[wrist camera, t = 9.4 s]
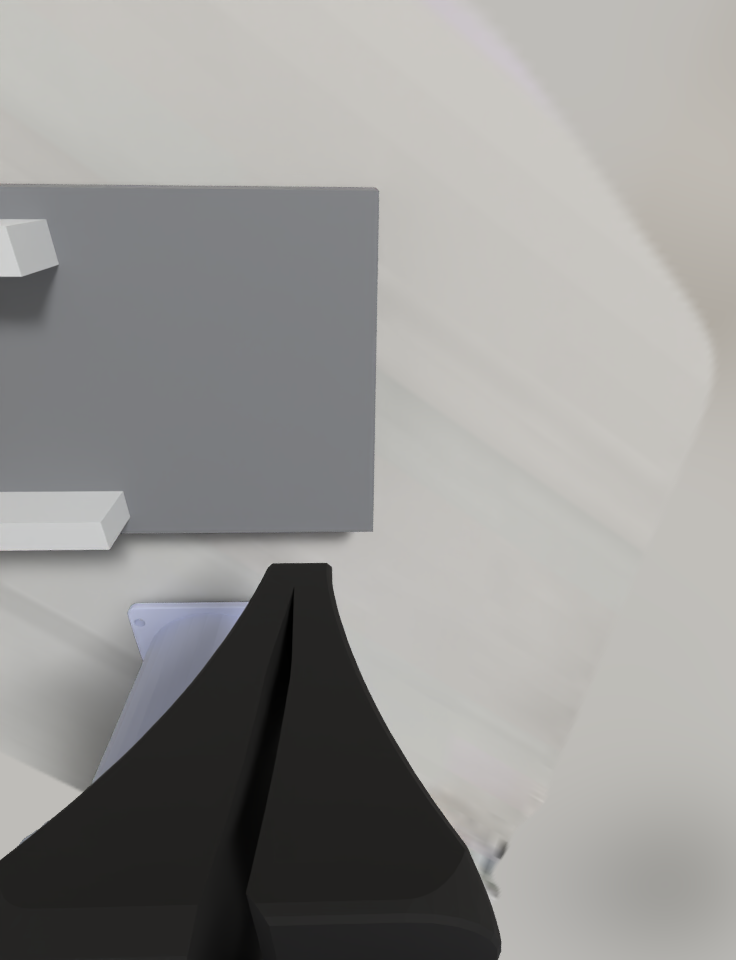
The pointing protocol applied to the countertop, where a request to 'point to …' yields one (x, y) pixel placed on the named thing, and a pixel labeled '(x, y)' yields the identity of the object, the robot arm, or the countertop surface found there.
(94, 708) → the countertop surface
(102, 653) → the countertop surface
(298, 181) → the countertop surface
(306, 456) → the grey long flat tray
